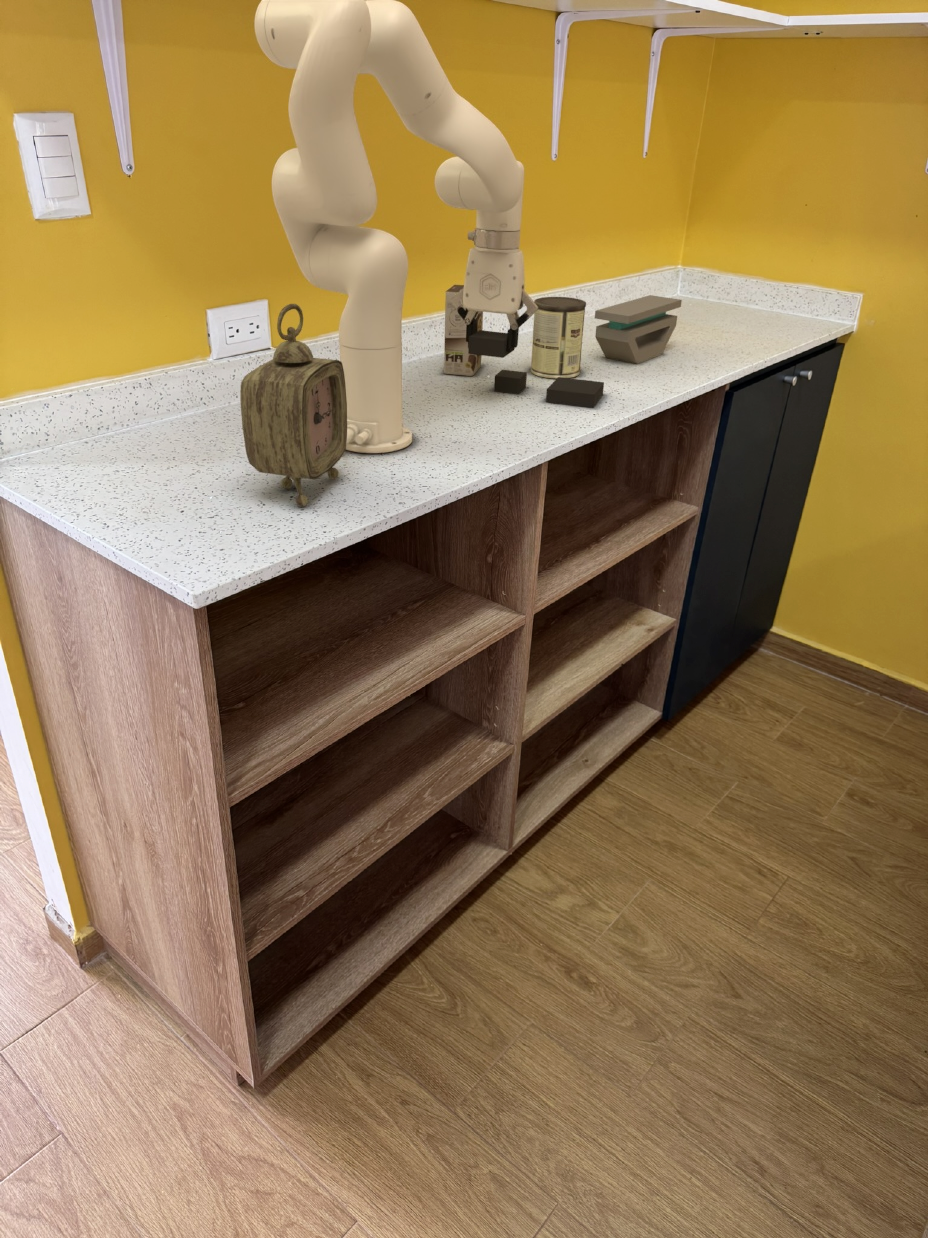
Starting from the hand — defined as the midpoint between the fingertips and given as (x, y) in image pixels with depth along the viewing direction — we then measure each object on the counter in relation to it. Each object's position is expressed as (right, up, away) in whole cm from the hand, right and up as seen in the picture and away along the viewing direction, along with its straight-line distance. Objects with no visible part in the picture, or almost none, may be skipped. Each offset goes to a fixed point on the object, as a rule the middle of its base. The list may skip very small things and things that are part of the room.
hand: (491, 347), depth 158 cm
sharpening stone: (+33, +10, +38) cm, 51 cm away
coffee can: (+14, +2, +24) cm, 28 cm away
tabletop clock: (-28, -31, -34) cm, 54 cm away
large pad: (+16, -7, +8) cm, 19 cm away
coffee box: (-5, +3, +24) cm, 25 cm away
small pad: (+4, -4, +13) cm, 14 cm away
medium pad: (0, -1, 0) cm, 1 cm away
